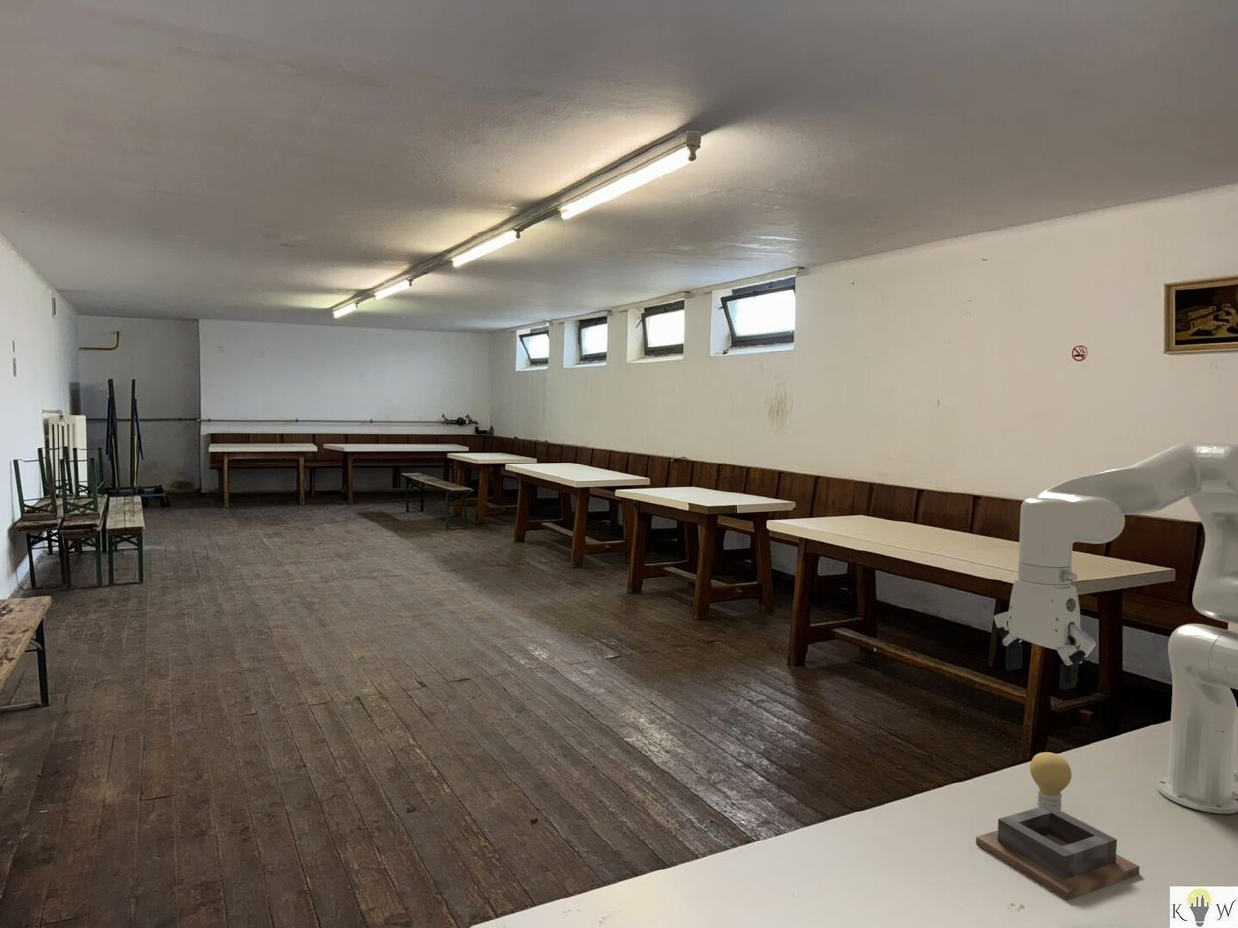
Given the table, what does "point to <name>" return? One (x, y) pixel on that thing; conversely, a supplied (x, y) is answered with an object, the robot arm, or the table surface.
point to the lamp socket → (1058, 851)
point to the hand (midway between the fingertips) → (1039, 678)
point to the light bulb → (1050, 778)
